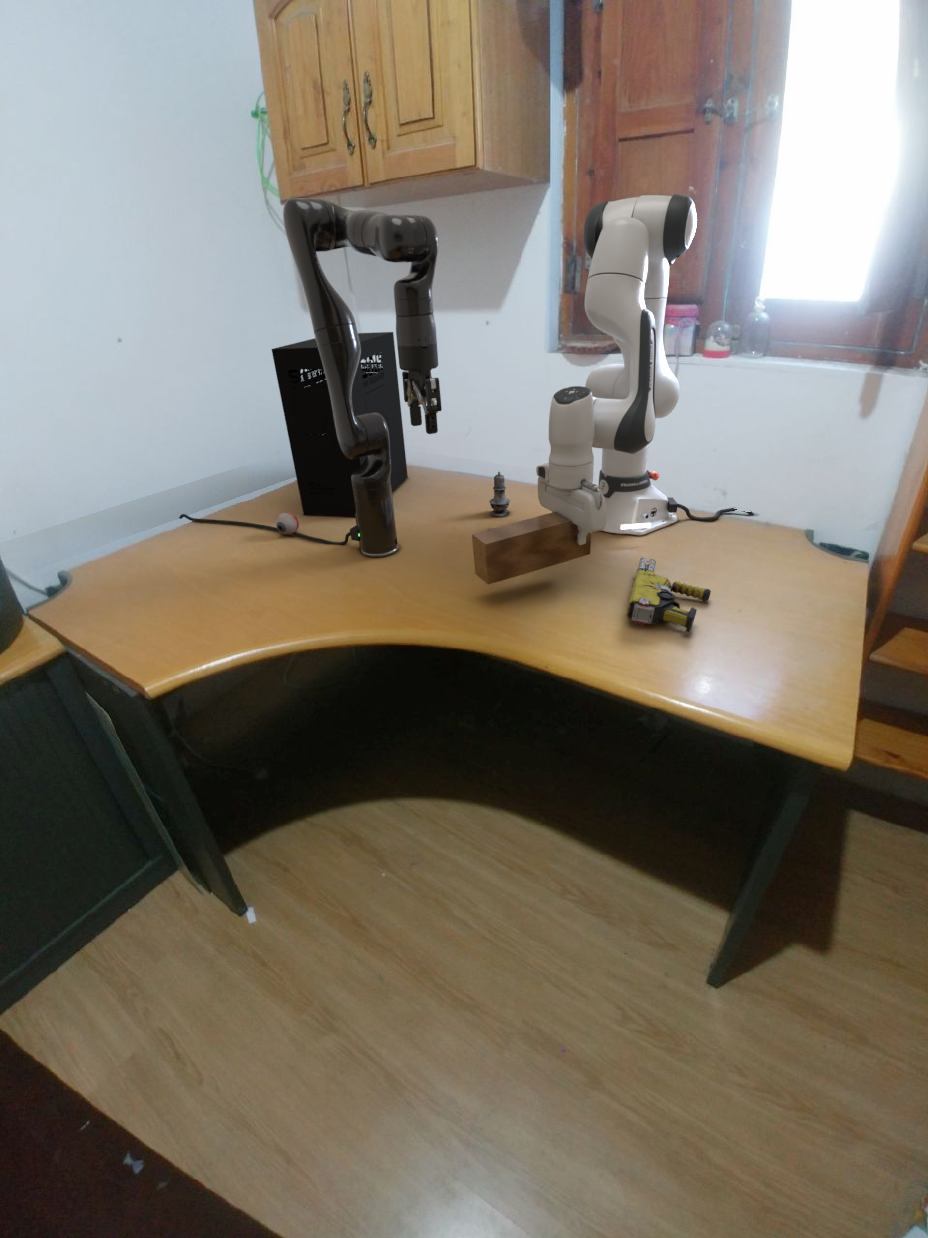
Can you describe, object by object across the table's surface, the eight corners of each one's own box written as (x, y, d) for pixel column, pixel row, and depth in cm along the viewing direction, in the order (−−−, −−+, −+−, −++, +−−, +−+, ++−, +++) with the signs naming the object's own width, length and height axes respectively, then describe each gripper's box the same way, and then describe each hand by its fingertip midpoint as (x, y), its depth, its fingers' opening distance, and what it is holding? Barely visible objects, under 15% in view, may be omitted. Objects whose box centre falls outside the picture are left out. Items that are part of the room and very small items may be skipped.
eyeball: (273, 537, 164) (268, 516, 161) (287, 528, 169) (282, 508, 166) (291, 539, 161) (286, 518, 158) (305, 530, 166) (301, 510, 163)
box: (574, 544, 134) (574, 506, 129) (590, 554, 129) (591, 515, 124) (474, 573, 126) (471, 533, 121) (488, 584, 121) (485, 544, 116)
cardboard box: (367, 516, 174) (344, 346, 151) (303, 514, 178) (271, 348, 156) (407, 477, 205) (393, 331, 183) (352, 476, 210) (331, 334, 187)
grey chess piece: (508, 517, 168) (508, 474, 162) (488, 516, 169) (486, 474, 163) (511, 509, 173) (511, 468, 167) (491, 509, 174) (490, 468, 168)
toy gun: (712, 567, 127) (640, 554, 131) (714, 617, 107) (629, 601, 111) (706, 587, 130) (636, 574, 134) (707, 640, 109) (624, 623, 113)
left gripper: (386, 340, 118) (395, 425, 126) (411, 346, 107) (419, 439, 115) (421, 337, 121) (428, 420, 129) (450, 342, 109) (455, 433, 117)
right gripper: (615, 484, 114) (612, 550, 121) (557, 459, 130) (557, 519, 137) (587, 491, 112) (586, 558, 119) (531, 465, 128) (533, 525, 135)
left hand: (424, 429), depth 122 cm, fingers open, 8 cm apart
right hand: (570, 537), depth 128 cm, fingers closed on box, 6 cm apart
